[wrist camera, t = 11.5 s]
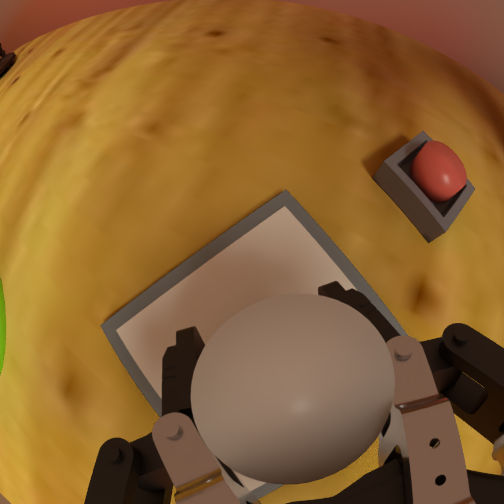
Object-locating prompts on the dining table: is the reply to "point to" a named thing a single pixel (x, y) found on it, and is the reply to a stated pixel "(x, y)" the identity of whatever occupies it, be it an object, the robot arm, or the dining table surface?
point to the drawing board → (231, 291)
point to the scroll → (6, 59)
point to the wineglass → (2, 327)
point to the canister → (292, 389)
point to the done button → (438, 172)
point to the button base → (418, 192)
